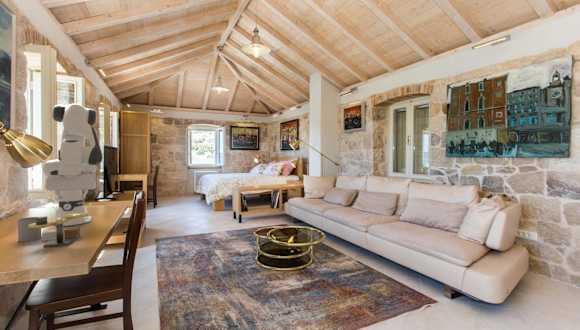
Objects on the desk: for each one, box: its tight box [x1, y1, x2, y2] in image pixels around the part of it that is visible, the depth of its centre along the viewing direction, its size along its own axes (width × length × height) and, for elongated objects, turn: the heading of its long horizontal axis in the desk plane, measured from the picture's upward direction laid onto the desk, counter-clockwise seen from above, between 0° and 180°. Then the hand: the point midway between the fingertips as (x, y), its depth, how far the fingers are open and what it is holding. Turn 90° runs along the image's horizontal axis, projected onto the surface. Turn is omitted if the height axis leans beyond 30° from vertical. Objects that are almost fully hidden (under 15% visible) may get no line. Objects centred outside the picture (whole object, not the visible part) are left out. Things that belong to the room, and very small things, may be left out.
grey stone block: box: [41, 228, 57, 242], centre depth 138 cm, size 5×5×4 cm
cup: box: [17, 216, 42, 242], centre depth 138 cm, size 8×8×10 cm
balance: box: [28, 212, 90, 249], centre depth 130 cm, size 9×22×14 cm, turn 110°
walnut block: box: [63, 226, 81, 240], centre depth 140 cm, size 5×5×5 cm
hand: (72, 198), depth 139 cm, fingers open, 8 cm apart
